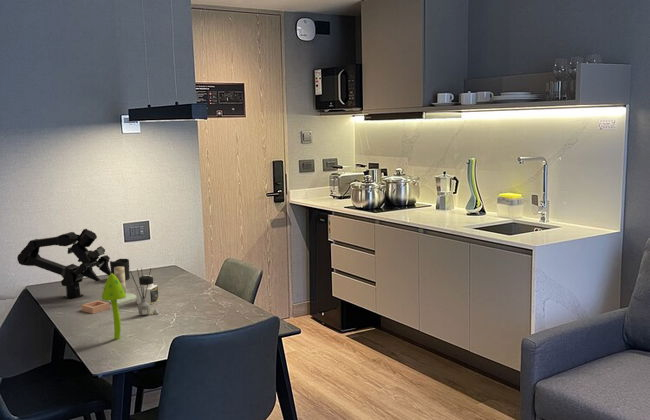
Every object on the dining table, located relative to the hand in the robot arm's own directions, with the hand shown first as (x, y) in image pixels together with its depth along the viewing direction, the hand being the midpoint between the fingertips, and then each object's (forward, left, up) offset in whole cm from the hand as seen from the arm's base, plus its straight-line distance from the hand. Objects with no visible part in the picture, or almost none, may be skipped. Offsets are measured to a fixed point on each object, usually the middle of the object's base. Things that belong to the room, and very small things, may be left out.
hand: (105, 278), depth 286 cm
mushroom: (+51, -31, -10) cm, 61 cm away
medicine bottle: (+22, +6, -10) cm, 25 cm away
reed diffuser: (+36, -6, -10) cm, 38 cm away
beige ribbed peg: (+7, +3, -9) cm, 12 cm away
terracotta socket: (+11, -13, -10) cm, 20 cm away
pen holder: (-25, +26, -10) cm, 37 cm away
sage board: (+7, +3, -10) cm, 12 cm away
